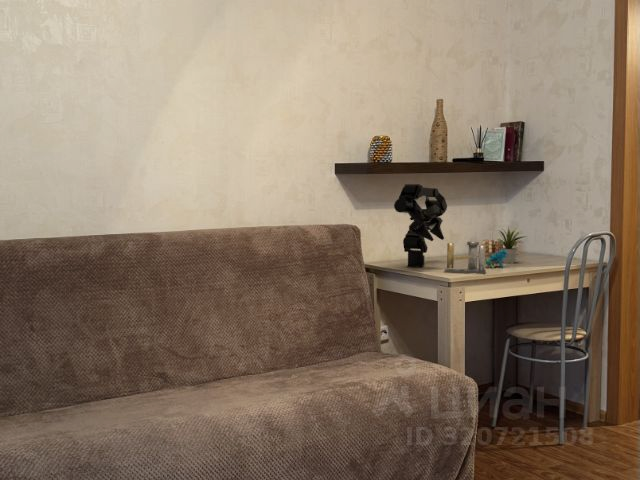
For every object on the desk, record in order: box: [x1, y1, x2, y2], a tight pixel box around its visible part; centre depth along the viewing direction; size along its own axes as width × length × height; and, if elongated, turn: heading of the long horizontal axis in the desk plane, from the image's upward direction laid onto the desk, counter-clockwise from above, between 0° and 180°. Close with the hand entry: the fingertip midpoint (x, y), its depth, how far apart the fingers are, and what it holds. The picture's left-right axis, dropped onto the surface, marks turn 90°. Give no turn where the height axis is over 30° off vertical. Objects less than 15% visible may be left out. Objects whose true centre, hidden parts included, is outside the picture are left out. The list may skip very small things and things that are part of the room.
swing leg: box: [446, 242, 470, 269], centre depth 321 cm, size 13×3×10 cm, turn 129°
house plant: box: [496, 226, 528, 264], centre depth 348 cm, size 14×14×16 cm
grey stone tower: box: [466, 241, 486, 271], centre depth 320 cm, size 5×18×11 cm, turn 8°
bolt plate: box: [443, 267, 487, 275], centre depth 315 cm, size 16×6×1 cm, turn 76°
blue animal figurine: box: [485, 249, 507, 269], centre depth 332 cm, size 11×6×10 cm
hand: (438, 239), depth 321 cm, fingers open, 8 cm apart
